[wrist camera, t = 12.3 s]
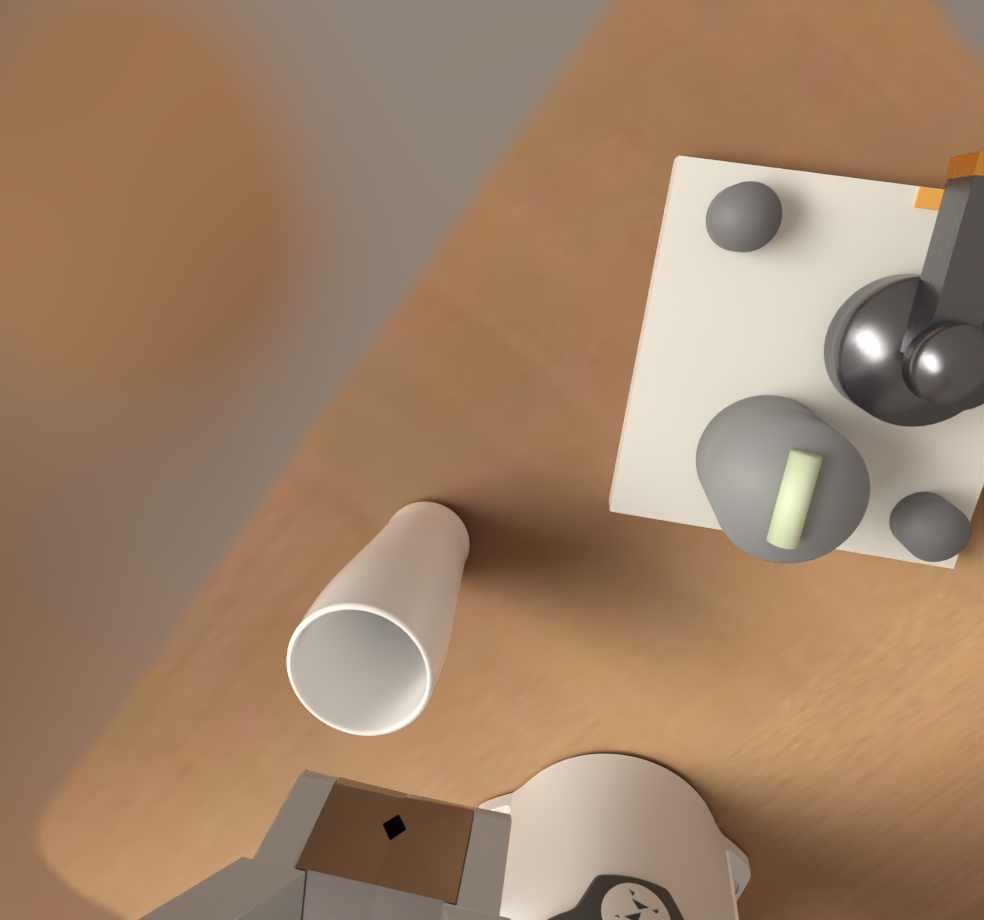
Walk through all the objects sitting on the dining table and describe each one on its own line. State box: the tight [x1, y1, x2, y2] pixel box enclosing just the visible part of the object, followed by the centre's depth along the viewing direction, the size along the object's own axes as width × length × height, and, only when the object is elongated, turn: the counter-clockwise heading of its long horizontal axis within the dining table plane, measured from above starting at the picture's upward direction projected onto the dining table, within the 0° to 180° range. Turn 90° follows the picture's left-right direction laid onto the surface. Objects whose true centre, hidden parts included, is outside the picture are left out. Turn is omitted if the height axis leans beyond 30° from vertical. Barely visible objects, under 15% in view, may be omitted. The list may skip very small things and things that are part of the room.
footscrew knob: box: [824, 151, 984, 427], centre depth 33 cm, size 12×7×7 cm, turn 174°
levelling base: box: [609, 156, 984, 569], centre depth 36 cm, size 19×19×9 cm
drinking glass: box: [287, 501, 469, 736], centre depth 39 cm, size 7×7×15 cm
